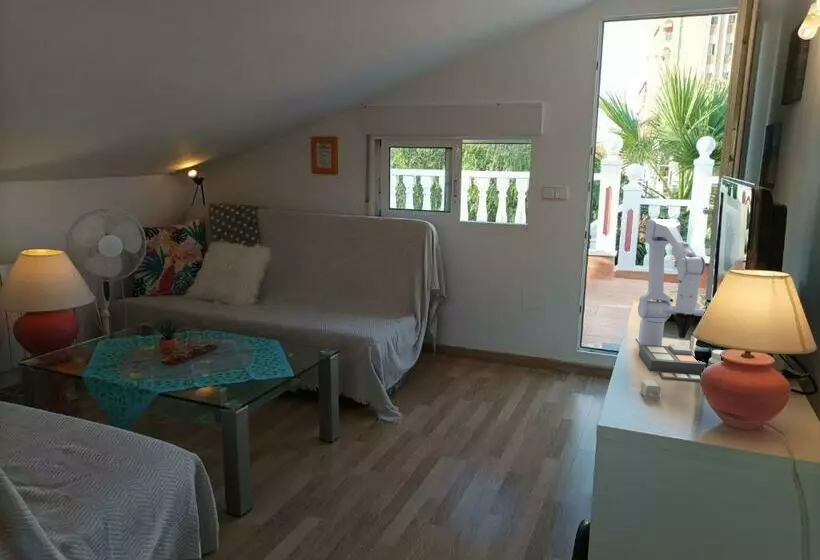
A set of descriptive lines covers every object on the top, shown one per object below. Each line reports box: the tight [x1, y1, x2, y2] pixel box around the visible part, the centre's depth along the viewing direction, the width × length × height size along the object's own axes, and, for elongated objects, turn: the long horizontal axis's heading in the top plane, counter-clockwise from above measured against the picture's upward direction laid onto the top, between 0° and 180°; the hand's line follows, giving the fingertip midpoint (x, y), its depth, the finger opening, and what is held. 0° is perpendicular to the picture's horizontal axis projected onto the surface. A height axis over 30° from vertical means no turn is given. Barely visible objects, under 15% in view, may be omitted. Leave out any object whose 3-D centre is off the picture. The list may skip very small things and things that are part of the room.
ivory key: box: [647, 346, 668, 353], centre depth 200 cm, size 5×5×3 cm
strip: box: [658, 372, 701, 383], centre depth 185 cm, size 12×4×1 cm, turn 83°
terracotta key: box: [675, 355, 698, 362], centre depth 192 cm, size 5×5×3 cm
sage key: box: [652, 353, 675, 361], centre depth 193 cm, size 5×5×3 cm
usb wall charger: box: [640, 379, 662, 401], centre depth 169 cm, size 4×7×4 cm, turn 176°
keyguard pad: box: [638, 343, 707, 375], centre depth 196 cm, size 16×16×4 cm
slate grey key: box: [668, 343, 692, 355], centre depth 199 cm, size 5×5×3 cm
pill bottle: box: [707, 349, 724, 366], centre depth 180 cm, size 6×6×10 cm
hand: (681, 337), depth 193 cm, fingers closed
